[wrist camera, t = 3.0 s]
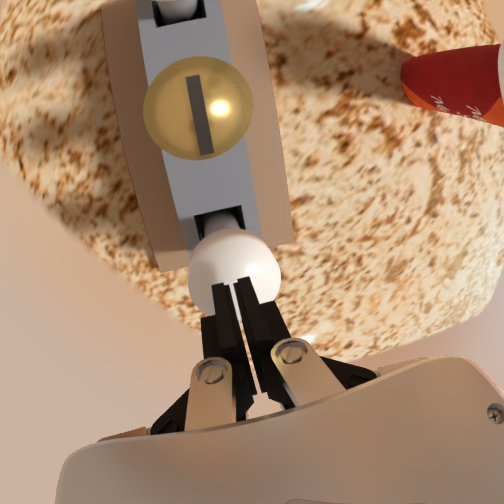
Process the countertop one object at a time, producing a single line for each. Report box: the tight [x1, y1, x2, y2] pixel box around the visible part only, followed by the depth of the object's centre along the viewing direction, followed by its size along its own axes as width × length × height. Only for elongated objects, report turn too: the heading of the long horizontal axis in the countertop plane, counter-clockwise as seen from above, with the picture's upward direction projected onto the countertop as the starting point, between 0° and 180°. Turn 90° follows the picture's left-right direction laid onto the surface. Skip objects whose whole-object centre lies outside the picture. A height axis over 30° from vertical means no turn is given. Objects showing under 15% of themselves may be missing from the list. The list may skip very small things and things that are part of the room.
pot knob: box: [143, 56, 253, 160], centre depth 14 cm, size 4×4×10 cm
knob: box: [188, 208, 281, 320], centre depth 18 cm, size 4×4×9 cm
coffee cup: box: [401, 41, 504, 127], centre depth 17 cm, size 8×8×15 cm
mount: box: [101, 0, 294, 273], centre depth 19 cm, size 26×13×7 cm, turn 9°
